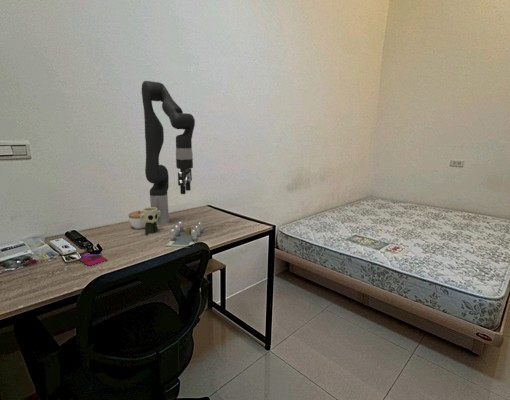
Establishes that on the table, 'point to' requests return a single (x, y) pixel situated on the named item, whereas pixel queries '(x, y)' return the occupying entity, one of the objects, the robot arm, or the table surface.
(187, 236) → the mat
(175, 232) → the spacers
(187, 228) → the nut
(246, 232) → the table surface
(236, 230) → the table surface
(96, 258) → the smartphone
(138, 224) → the lidded jar
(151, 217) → the character mug
